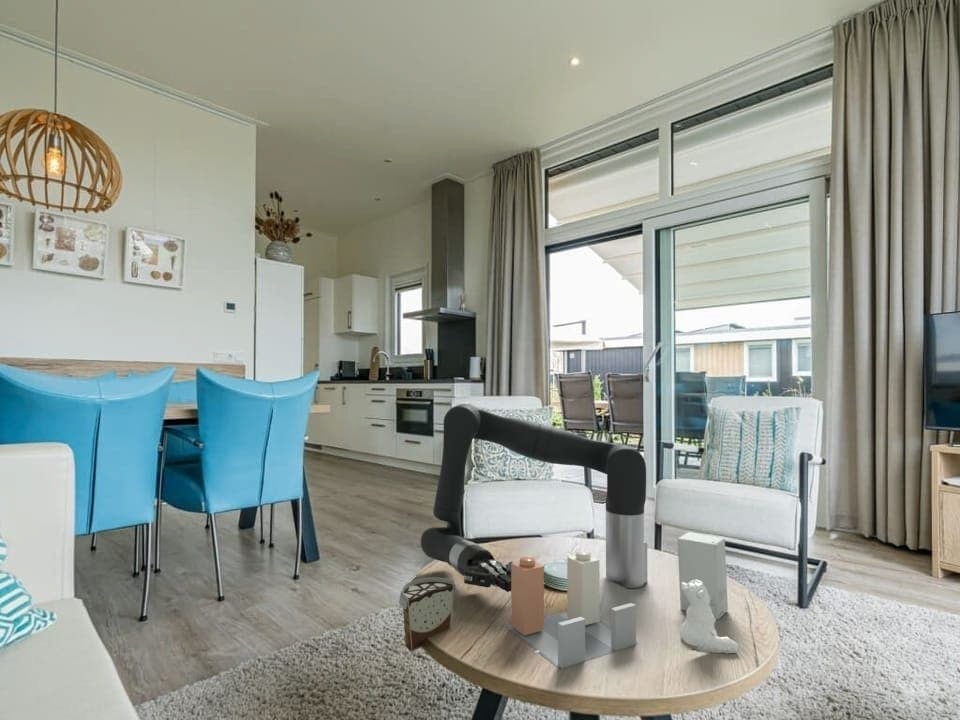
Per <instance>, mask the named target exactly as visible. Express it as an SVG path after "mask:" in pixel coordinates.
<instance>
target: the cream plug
mask: <svg viewBox="0 0 960 720" xmlns="http://www.w3.org/2000/svg"><path fill="white" fill-rule="evenodd" d="M566 559H567V560H566V562H567V563H566V564H567V567H566V570H567V571H566V574H567V575H566V577H567V579H566V580H567V582H566V584H567V585H566V587H567V588H566V589H567V590H566V591H567V593H566V594H567V597H566V599H567V602H566V603H567V604H566V606H567V607H566V608H567V610H566V611H567V617H568V618H569V619H574V618H578V617H582V618H584V619H585V625H588V624H592V623H595V622H599V621H600V619H601V618H600V617H601V616H600V614H601V612H600V607H601V606H600V605H601V604H600V597H601V596H600V588H601V587H600V559H598V558H596V557H593V556H592V554H591V552H589V551H585V550H578V551H576V552H575V555H570V556H567V557H566Z"/></svg>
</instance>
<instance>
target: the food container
mask: <svg viewBox="0 0 960 720" xmlns="http://www.w3.org/2000/svg"><path fill="white" fill-rule="evenodd" d="M455 592H457V584H456V583H455V580H454V579H450V578H445V577H424V578H419V579H414V580H411V581H410V582H408V583H405V585H404V586H403V587H402V588H401V591H400V595H399V600H398V602H399V606H400V607H401V608H402V611H403V613H402V614H403V624H404V625H403V626H404V640H405V647H406V648H407V649H408V650H409V652H411V653H412V652H414V651H416V650H419V649H422V648H424V646H423V644H422V643H421V642H422V641H424V640H426V639H428V638H432V637H433V636H435V635H437V634H440V633H442V632H445V631H447V630H449V629H452V620H453V619H452V617H453V608H454V607H453V606H454V605H453V604H454V593H455Z"/></svg>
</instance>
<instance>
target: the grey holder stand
mask: <svg viewBox="0 0 960 720" xmlns="http://www.w3.org/2000/svg"><path fill="white" fill-rule="evenodd" d="M636 606H637V605H636V604H634V603H632V602H630V603H626V604H621V605H619V606H615V607H611V609H610V621H611V622H610V626H609V625H608V624H605V623H604V622H603V621H599V622H595V623H592V624H588V625H585V619H584V618H582V617H578V618H574V619H569V618H568V617H567V610H565V611H562V612H557V613H555V614H550V615H547V616H544V630H543V631H539V632H535V633H532V634H528V635H525V636H524V635H523V634H521V633H520V632H519V631H517V630H516V629H515V628H513V627H512V626H511V625H508V626H506V627H505V628H506V629H507V630H509V631H510V632H511V633H512V634H514V635H515V636H517V637H518V638H519V639H520V640H522V642H524V643H525V644H527V645H528V646H529V647H530V648H532V649H533V650H534V651H533V652H534V653H535V654H540V655H541V656H542V657H543V658H545V660H547V661H548V662H549V663H551V664H552V665H554V666H555V667H556V668H557V669H558V670H559V671H560V670H561V671H562V670H564V669H566V668H569V667H573V666H576V665H578V664H582V663H585V662H588V661H592V660H593V659H597V658H600V657H603V656H605V655H609V654H613V653H615V652H618V651H622V650H624V649H627V648H630V647H634V646H637V645H639V643H638V642H637V607H636Z"/></svg>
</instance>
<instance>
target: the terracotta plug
mask: <svg viewBox="0 0 960 720" xmlns="http://www.w3.org/2000/svg"><path fill="white" fill-rule="evenodd" d="M513 562H514V561H513ZM510 593H511V596H510V597H511V598H510V601H511V603H510V606H511V607H510V608H511V610H510V612H511V613H510V614H511V615H510V626H512V627H513V628H515V629H516V630H517V631H519V632H520V633H521V634H523V635H524V636H525V635H528V634H532V633H535V632H539V631H543V630H544V617H545V602H544V601H545V597H544V596H545V595H544V594H545V567H544V565H542V564H540V563H538V562H536V558H534V557H531V556H523V557H520V558H519V561H515V562H514V563H511V591H510Z"/></svg>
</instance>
